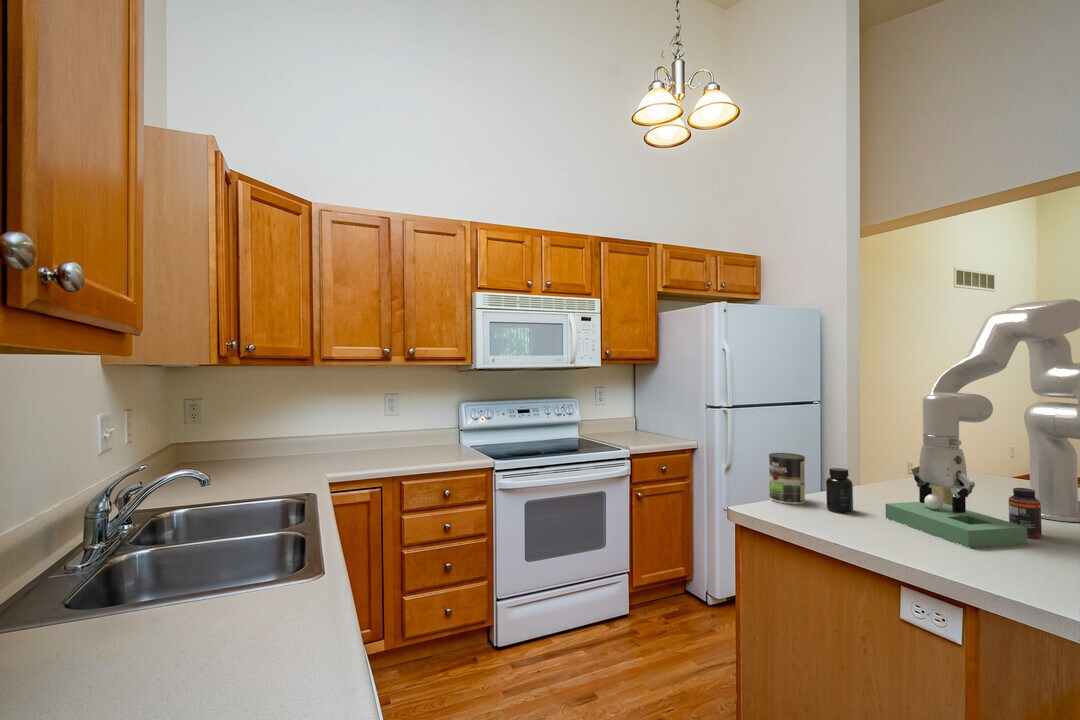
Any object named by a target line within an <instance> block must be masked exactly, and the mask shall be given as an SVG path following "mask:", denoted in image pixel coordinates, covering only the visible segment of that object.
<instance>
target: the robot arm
mask: <svg viewBox="0 0 1080 720" xmlns="http://www.w3.org/2000/svg"><path fill="white" fill-rule="evenodd" d="M1079 329H1080V300H1077V299H1074V298H1063V299H1053V300H1044V301H1042V300H1041V301H1032V302H1025V303H1024V302H1023V303H1018V304H1014V305H1012V306H1010V307H1008V308H1007V309H1006V310H1002V311H997V312H994V313H992V314H990V315H989V316H987V317H986V319H985V320H984V322H983V324H982V326H981V327H980V330H979V332H978V334H977V336H976V338H975V340H974V342H973V344H972V345H971V348H970V350H969V352H968V354H967V355H966V356H965V357H964V358H962V359H961V360H960V361H958V362H956V363H955V364H953V365H952V366H950V367H949V368H948V369H947V370H946V371H944V372H943V373H942V374H940V376H939V377H938V378H937V379H936V381H935V382H934V384H933V386H932V388H931V390H930V391H929V394H927V395H925V396H924V397H923V398H922V445H921V449H920V453H919V464H918V466H916V467H914V468H911V473H912V475H913V479H914V481H915V482H916V487H918V488H919V497H918V498H919V499H918V500H919V502H920V503H925V502H924V500H925V497H926V496H927V495H930V494H932V489H931V488H930V487H929V486H930V485H931V484H934V485H938V486H942V487H946V488H950V490H951V491H952V493H953V497H952V511H953V513H965V512H966V510H967V509H966V508H967V506H966V505H967V504H966V499H967V498H968V497H969V495H970V494H972V492H973V489H974V487H975V486H976V483H975V482H974V480H972V479H971V478H970V477H968V473H967V472H968V471H967V466H966V465H967V464H966V458H965V454H964V452H963V449H962V448H960V446H961V445H962V441H961V440H960V422H962V423H981V422H982V423H983V422H985V421H987V420H988V419H990V417H992V415H993V412H994V407H993V403H992V402H991V400H990V399H988V398H987V397H986V396H984V395H981V394H976V393H965V392H964V393H963V392H959V391H960V390H962V389H963V388H965V386H967V385H969V384H971V383H973V382H975V381H978V380H980V379H984V378H986V377H987V378H988V377H990V376H993V375H996V374H998V373H1001V372H1003V371H1004V370H1005V369H1006V368H1007V366H1008V364H1009V362H1010V360H1011V357H1012V355H1013V353H1014V352H1015V350H1016V347H1017V345H1018V344H1019V343H1020V342H1025V344H1026V347H1027V348H1028V357H1029V358H1028V360H1029V381H1030V387H1031V390H1032V392H1033V393H1034V394H1035V395H1038V396H1041V397H1046V398H1058V399H1060V398H1061V399H1076V400H1077V402H1078V403H1071V402H1070V403H1069V402H1061V401H1060V402H1059V401H1058V402H1057V401H1041V402H1039V401H1038V402H1036V403H1032V404H1030V405H1029V406H1028V407H1027V408H1026V409H1025V411H1024V414H1023V421H1024V426H1025V429H1026V433H1027V438H1028V444H1029V445H1028V446H1029V451H1028V452H1029V489H1032V490H1034V491H1035V498H1036V499H1038V500H1039V501H1040V503H1041V519H1045V520H1051V521H1056V522H1057V521H1058V522H1059V521H1060V522H1066V523H1067V522H1069V523H1072V522H1073V523H1080V500H1079V488H1078V487H1079V485H1078V477H1079V476H1078V454H1077V453H1078V452H1077V450H1076V448H1075V447H1074V445H1073V444H1072V442H1071V441H1070V440H1069V439H1072V440H1080V362H1073V357H1072V356H1073V355H1072V348H1071V343H1070V341H1069V340H1068V338H1067V337H1066V336H1065V335H1066V334H1069V333H1070V334H1071V333H1073V332H1075V331H1077V330H1079Z"/></svg>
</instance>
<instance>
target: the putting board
mask: <svg viewBox="0 0 1080 720" xmlns="http://www.w3.org/2000/svg"><path fill="white" fill-rule="evenodd" d="M887 518H888V519H887ZM885 519H887V520H890V519H891V520H890V521H892V520H894V521H893V522H895V521H896V523H898V522H899V523H898V524H901V523H902V524H901V525H903V524H905V526H906V525H908V526H907V527H909V526H911V527H910V528H912V527H914V528H913V529H915V528H916V529H915V530H917V529H919V530H918V531H920V530H922V531H921V532H923V531H924V532H923V533H926V532H927V533H926V534H928V533H930V534H929V535H931V534H932V536H934V535H935V536H934V537H937V536H938V537H937V538H939V537H941V538H940V539H942V538H943V540H945V539H946V540H945V541H948V540H949V541H948V542H950V541H952V542H951V543H953V542H955V543H954V544H956V543H958V544H957V545H959V544H961V545H963V546H962V547H964V546H966V547H965V548H967V547H976V548H987V546H988V547H990V546H991V547H1002V546H1004V547H1005V546H1019V545H1028V537H1027V527H1025V526H1022V525H1018V524H1015V523H1011V522H1009V520H1004V519H1000V518H996V517H994V516H989V515H986V514H983V513H980V512H975V511H973V510H969V509H966V512H965V513H953V511H952V505H949V504H945V503H943V506H942V507H941V508H940V509H938V510H933V509H930V508H928V507H927V506H926V505H925V503H920V501H910V502H889V503H887V502H886V503H885ZM961 545H960V546H961Z"/></svg>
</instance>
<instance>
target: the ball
mask: <svg viewBox="0 0 1080 720" xmlns="http://www.w3.org/2000/svg"><path fill="white" fill-rule="evenodd" d="M924 502H925V505H926V506H927V507H928V508H930V509H933V510H938V509H940V508H941V507H942V506H943V500H942V499H941V497H939V496H938V495H935V494H930V495H927V496H926V497H925V500H924Z"/></svg>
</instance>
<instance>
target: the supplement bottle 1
mask: <svg viewBox="0 0 1080 720" xmlns="http://www.w3.org/2000/svg"><path fill="white" fill-rule="evenodd" d="M828 469H829V476H830V477H828V478H826V479H825V498H826V499H825V501H826V508H827V510H828V511H830V512H833V513H838V514H839V513H840V514H850V513H853V511H854V485H853V481H852V479H850V478H848V477H850V476H849V475H850V474H849V469H848V468H842V467H830V468H828Z"/></svg>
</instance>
